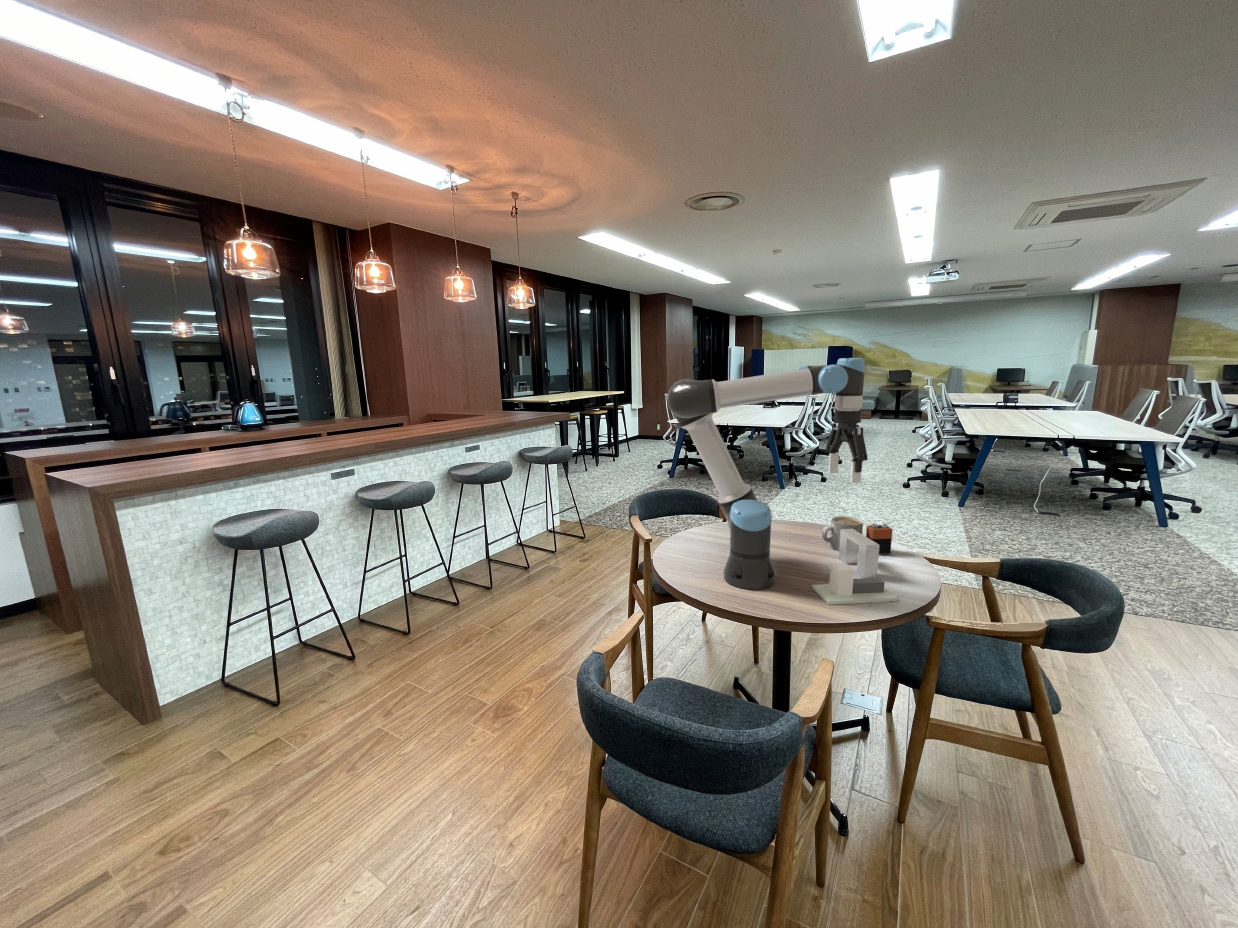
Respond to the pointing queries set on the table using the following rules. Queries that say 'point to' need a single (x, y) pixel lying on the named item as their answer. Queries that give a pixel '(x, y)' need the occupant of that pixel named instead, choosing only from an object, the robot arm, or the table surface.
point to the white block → (851, 581)
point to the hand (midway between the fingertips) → (843, 477)
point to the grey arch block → (859, 552)
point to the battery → (880, 536)
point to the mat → (855, 598)
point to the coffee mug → (836, 527)
